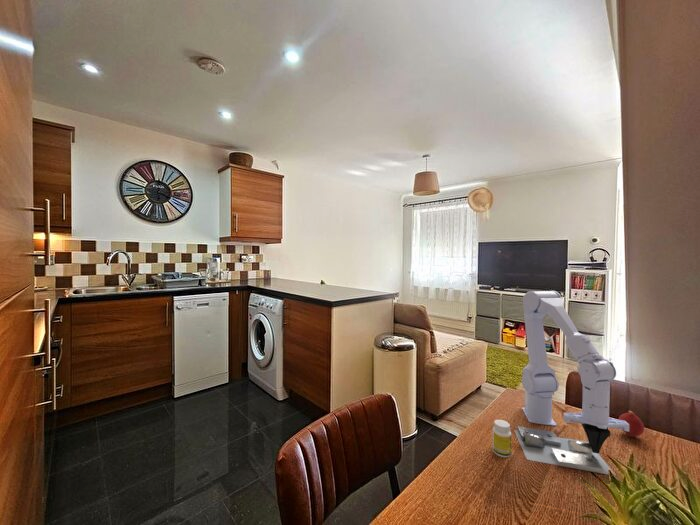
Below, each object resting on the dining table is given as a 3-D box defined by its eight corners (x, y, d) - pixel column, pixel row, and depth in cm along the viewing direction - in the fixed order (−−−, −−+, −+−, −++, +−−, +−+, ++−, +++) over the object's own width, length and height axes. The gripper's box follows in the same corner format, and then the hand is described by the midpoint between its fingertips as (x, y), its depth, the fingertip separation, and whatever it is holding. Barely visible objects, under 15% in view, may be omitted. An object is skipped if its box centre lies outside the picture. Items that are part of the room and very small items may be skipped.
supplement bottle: (513, 459, 80) (514, 429, 80) (495, 456, 81) (495, 427, 81) (507, 448, 85) (508, 419, 85) (490, 445, 86) (490, 417, 86)
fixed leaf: (515, 429, 94) (515, 419, 94) (553, 435, 91) (553, 425, 90) (523, 447, 85) (523, 436, 85) (565, 454, 82) (566, 443, 82)
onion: (632, 431, 93) (633, 406, 93) (649, 442, 88) (650, 416, 87) (613, 430, 94) (613, 405, 94) (628, 441, 88) (629, 415, 88)
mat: (514, 430, 93) (514, 430, 93) (588, 442, 88) (588, 442, 88) (527, 460, 80) (527, 459, 80) (616, 476, 74) (616, 475, 74)
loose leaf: (546, 444, 86) (546, 434, 86) (586, 451, 83) (587, 440, 83) (558, 465, 77) (558, 453, 77) (604, 474, 75) (604, 461, 74)
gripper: (571, 405, 79) (570, 455, 80) (637, 414, 75) (635, 466, 75) (560, 394, 86) (559, 439, 86) (620, 401, 82) (619, 448, 82)
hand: (594, 450), depth 81 cm, fingers closed
